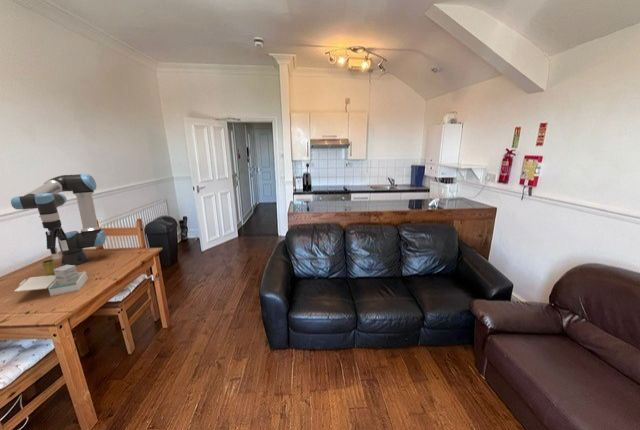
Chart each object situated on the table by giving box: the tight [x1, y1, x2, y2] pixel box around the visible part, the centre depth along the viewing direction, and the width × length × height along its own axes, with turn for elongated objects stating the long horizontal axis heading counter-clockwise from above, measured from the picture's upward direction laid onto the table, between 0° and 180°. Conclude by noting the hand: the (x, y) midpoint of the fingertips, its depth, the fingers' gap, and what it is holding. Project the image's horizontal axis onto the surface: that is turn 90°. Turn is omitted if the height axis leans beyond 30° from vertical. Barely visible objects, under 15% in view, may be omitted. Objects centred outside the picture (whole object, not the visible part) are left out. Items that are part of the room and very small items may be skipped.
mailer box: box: [47, 271, 89, 297], centre depth 162 cm, size 16×13×5 cm
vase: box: [41, 258, 57, 285], centre depth 168 cm, size 6×6×14 cm
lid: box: [13, 275, 56, 293], centre depth 155 cm, size 18×13×2 cm
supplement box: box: [54, 265, 79, 286], centre depth 161 cm, size 7×7×13 cm
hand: (61, 254), depth 157 cm, fingers open, 13 cm apart
